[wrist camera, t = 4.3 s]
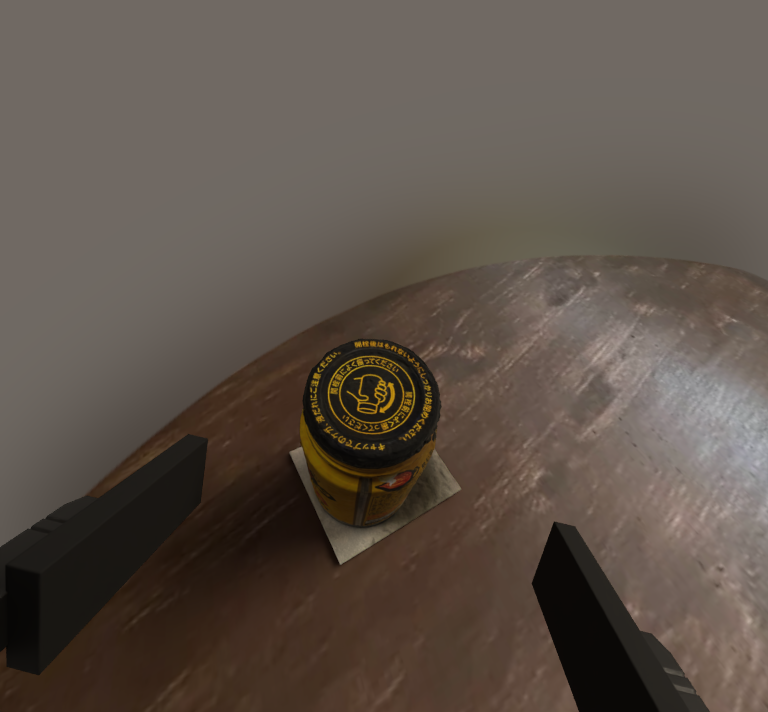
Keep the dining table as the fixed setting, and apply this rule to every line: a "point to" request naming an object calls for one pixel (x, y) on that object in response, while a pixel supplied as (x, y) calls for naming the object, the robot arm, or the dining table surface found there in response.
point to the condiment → (370, 443)
